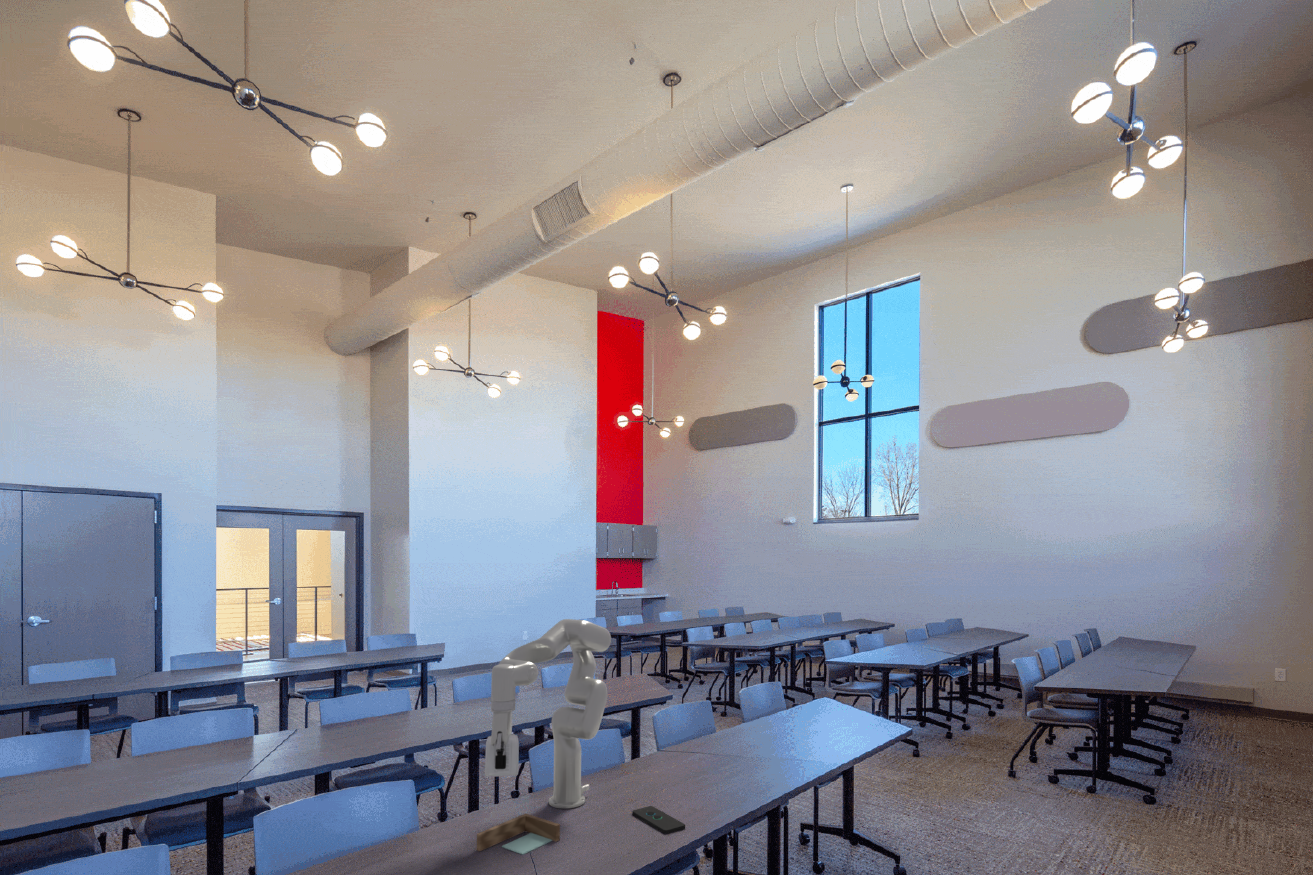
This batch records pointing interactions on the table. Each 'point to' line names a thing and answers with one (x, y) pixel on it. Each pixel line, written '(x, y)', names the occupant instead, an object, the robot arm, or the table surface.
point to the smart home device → (658, 819)
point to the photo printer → (511, 758)
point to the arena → (518, 830)
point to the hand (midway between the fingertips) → (502, 765)
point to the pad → (526, 843)
